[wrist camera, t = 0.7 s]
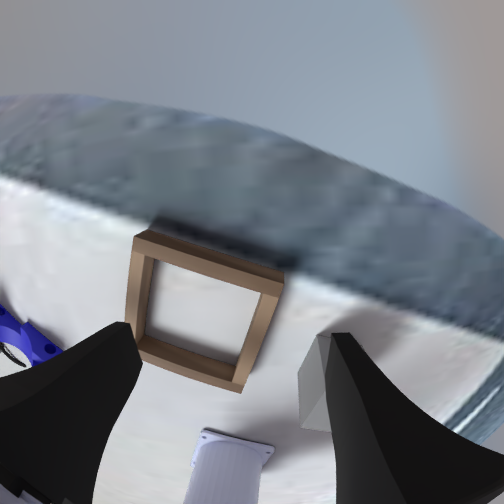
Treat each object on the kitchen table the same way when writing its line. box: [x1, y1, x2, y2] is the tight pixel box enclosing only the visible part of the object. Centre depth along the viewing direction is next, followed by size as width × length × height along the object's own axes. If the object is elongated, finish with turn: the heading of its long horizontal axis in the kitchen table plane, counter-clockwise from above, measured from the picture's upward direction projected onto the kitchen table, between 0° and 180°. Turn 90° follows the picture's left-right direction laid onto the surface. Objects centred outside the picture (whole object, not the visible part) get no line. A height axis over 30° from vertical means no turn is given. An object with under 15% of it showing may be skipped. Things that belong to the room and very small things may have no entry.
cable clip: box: [0, 304, 64, 367], centre depth 22 cm, size 12×4×6 cm, turn 62°
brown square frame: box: [125, 230, 284, 394], centre depth 20 cm, size 10×10×2 cm
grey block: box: [298, 335, 364, 432], centre depth 18 cm, size 4×4×6 cm
